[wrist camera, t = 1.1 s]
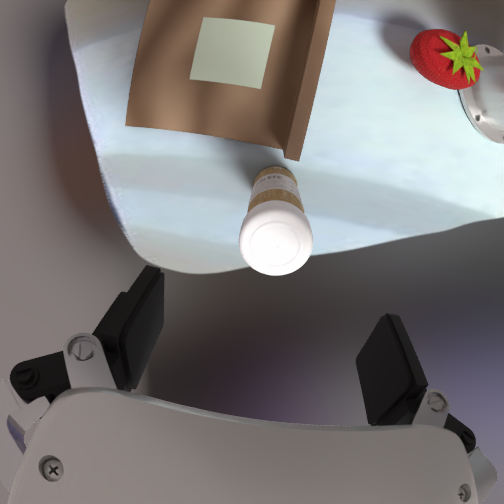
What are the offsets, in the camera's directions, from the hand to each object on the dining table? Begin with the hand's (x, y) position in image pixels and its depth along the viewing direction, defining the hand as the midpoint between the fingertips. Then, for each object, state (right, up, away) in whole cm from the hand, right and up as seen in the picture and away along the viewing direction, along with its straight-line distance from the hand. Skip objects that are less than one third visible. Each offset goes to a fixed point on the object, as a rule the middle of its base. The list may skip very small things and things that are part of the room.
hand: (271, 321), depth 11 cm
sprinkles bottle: (+2, +10, +18) cm, 20 cm away
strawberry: (+17, +22, +9) cm, 30 cm away
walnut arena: (-4, +22, +11) cm, 25 cm away
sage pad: (-3, +22, +11) cm, 24 cm away
